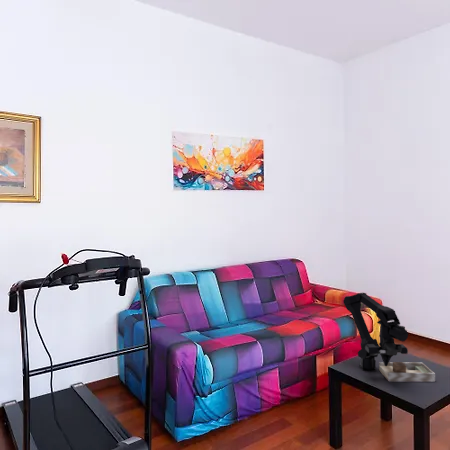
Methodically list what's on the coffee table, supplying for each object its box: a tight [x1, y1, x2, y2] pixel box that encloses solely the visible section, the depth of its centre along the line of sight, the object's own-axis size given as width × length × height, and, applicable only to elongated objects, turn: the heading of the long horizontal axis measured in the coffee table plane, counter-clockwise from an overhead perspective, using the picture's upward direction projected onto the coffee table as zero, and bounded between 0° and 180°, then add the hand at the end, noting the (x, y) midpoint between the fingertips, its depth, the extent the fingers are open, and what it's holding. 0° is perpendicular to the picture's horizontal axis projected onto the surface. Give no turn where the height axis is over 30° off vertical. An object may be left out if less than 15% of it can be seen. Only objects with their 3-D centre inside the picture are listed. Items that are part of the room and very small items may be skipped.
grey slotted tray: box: [378, 361, 436, 383], centre depth 198 cm, size 22×13×4 cm, turn 89°
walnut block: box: [393, 361, 406, 373], centre depth 195 cm, size 4×4×4 cm
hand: (385, 365), depth 195 cm, fingers closed
